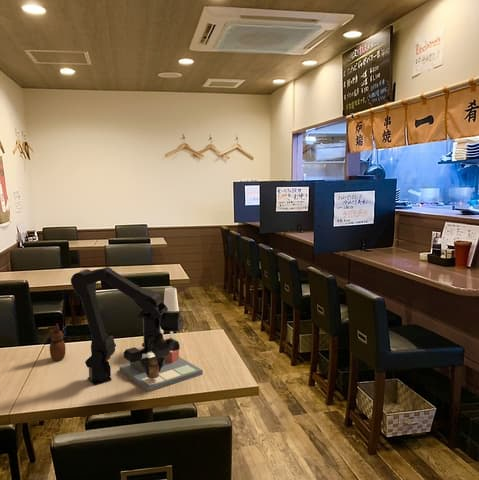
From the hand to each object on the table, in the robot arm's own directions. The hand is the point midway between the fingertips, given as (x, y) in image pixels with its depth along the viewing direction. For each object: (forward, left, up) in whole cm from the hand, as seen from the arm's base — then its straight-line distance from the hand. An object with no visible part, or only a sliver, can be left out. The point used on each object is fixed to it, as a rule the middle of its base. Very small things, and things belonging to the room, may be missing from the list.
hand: (153, 373), depth 164 cm
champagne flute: (+25, +29, -4) cm, 39 cm away
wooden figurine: (-18, +43, -4) cm, 47 cm away
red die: (+14, +11, -2) cm, 18 cm away
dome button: (+4, +12, -1) cm, 13 cm away
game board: (+7, +7, -4) cm, 11 cm away
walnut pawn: (0, 0, -1) cm, 1 cm away
